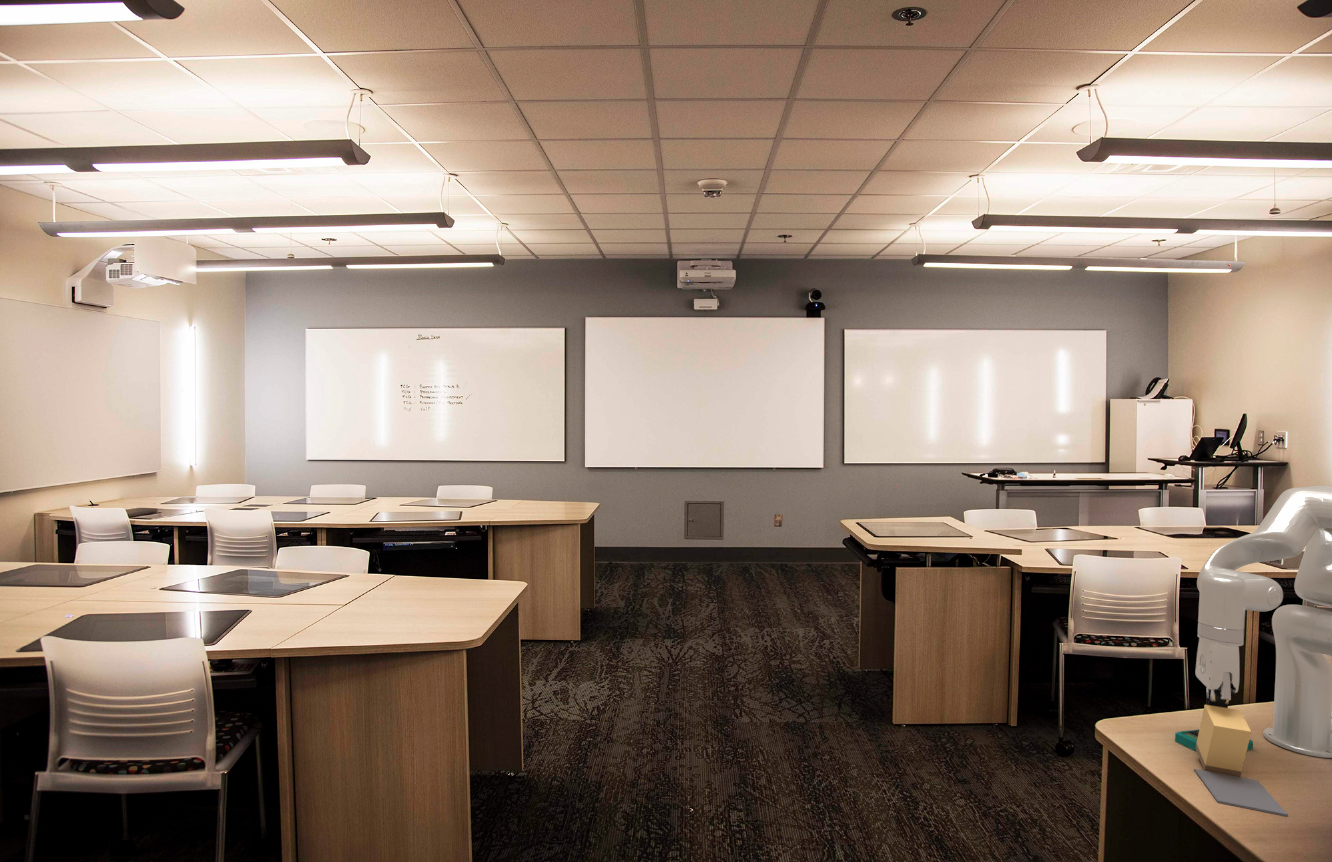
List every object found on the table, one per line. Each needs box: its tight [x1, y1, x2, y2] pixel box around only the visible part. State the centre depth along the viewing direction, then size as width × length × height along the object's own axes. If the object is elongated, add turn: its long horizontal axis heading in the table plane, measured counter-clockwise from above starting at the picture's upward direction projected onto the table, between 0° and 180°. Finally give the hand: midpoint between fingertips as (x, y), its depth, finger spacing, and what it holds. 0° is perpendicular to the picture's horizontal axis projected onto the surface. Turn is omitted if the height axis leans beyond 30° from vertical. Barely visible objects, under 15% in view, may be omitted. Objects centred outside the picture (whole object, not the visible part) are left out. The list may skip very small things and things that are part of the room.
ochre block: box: [1195, 704, 1252, 777], centre depth 139 cm, size 6×6×12 cm
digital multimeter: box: [1174, 728, 1254, 753], centre depth 152 cm, size 7×15×3 cm, turn 106°
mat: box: [1193, 768, 1289, 818], centre depth 132 cm, size 10×13×1 cm
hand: (1216, 719), depth 142 cm, fingers closed
